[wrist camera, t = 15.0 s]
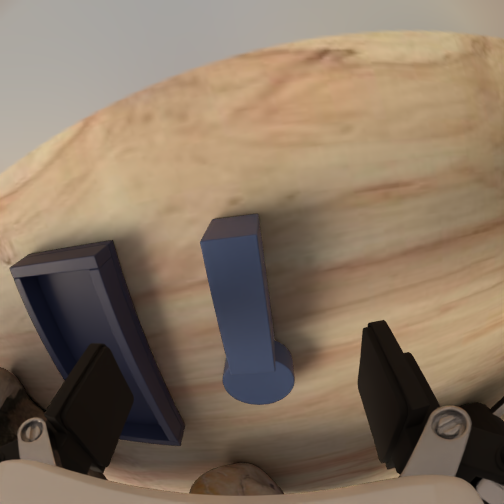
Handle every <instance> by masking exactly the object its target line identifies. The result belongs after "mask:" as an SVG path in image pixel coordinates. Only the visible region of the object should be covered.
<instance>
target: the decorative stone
mask: <svg viewBox="0 0 504 504" xmlns="http://www.w3.org/2000/svg"><path fill="white" fill-rule="evenodd" d="M189 494H202V495H223V496H260V495H281V494H284V492H283V491H282V490H281V489H280V488H279V487H278V486H277V484H276V483H275V482H274V481H273V480H272V479H271V478H270V477H269V476H268V475H267V474H266V473H265V472H264V471H263V470H262V469H260V468H258V467H257V466H255V465H252V464H249V463H237V464H231V465H226V466H222V467H218V468H215V469H212V470H210V471H208V472H206V473H205V474H203V475H201V476H200V477H199V478H198V479H197V480H196V481H195V482H194V484H193V485H192V487H191V489H190V492H189Z"/></svg>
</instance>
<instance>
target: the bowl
mask: <svg viewBox="0 0 504 504" xmlns="http://www.w3.org/2000/svg"><path fill="white" fill-rule="evenodd" d="M44 413H45V412H44V411H43V410H42V409H41V408H40V407H38V406H37V405H36V404H35V403H34V402H33V401H32V400H31V399H30V398H29V396H28V395H27V394H26V392H25V389H24V386H23V385H22V384H21V383H20V382H19V380H18V379H17V377H16V376H15V375H14V374H12V373H11V372H9V371H8V370H6V369H4V368H1V367H0V447H1V446H3V445H6V444H8V443H10V442H13V441H15V440H17V439H18V438H17V434H18V430H19V427H20V426H21V425H22V424H23V423H24V422H25V421H26V420H28V419H30V418H34V417H35V418H41V419H43V420H44V421H45V422H46V420H47V418H46V417H45V416H44ZM88 472H89V475H90V476H92V477H96V478H100V479H104V480H107V479H106V477H105V476H104V475H103V473H101V472H97V471H93V470H91V469H89V471H88Z"/></svg>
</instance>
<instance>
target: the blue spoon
mask: <svg viewBox="0 0 504 504" xmlns="http://www.w3.org/2000/svg"><path fill="white" fill-rule="evenodd" d="M200 244H201V249H202V254H203V259H204V263H205V268H206V273H207V277H208V282H209V286H210V291H211V295H212V299H213V304H214V308H215V312H216V317H217V321H218V325H219V329H220V333H221V337H222V341H223V345H224V349H225V353H226V360H225V367H224V373H223V385H224V387H225V389H226V391H227V392H228V393H229V394H230V395H231V396H232V397H234V398H235V399H237V400H239V401H241V402H244V403H248V404H255V405H263V404H270V403H274V402H277V401H279V400H281V399H283V398H284V397H286V396H287V395H288V394H289V393H290V392H291V390H292V388H293V386H294V370H293V360H292V356H291V353H290V352H289V350H288V349H287V348H286V347H285V346H284V345H283V344H281V343H280V342H278V341H275V340H274V330H273V322H272V314H271V306H270V298H269V290H268V283H267V275H266V267H265V260H264V252H263V244H262V237H261V229H260V222H259V215H258V214H250V215H242V216H235V217H227V218H219V219H213V220H212V221H211V223H210V224H209V226H208V228H207V230H206V232H205V234H204V236H203V237H202V239H201V241H200Z"/></svg>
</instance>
